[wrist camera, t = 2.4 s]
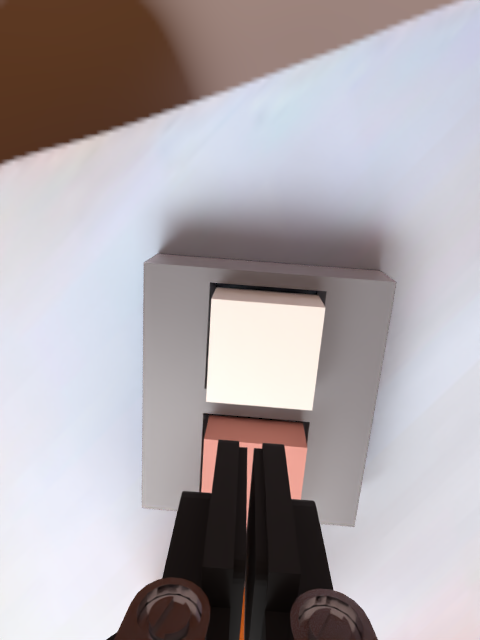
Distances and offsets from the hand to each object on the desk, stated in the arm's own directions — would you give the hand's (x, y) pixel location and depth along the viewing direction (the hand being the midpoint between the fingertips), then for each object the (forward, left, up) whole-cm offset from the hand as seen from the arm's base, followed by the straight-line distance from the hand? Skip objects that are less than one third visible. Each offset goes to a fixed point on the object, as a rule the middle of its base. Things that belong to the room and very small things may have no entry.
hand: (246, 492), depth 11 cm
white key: (0, 0, -12) cm, 12 cm away
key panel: (0, +3, -15) cm, 15 cm away
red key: (0, +7, -12) cm, 14 cm away
